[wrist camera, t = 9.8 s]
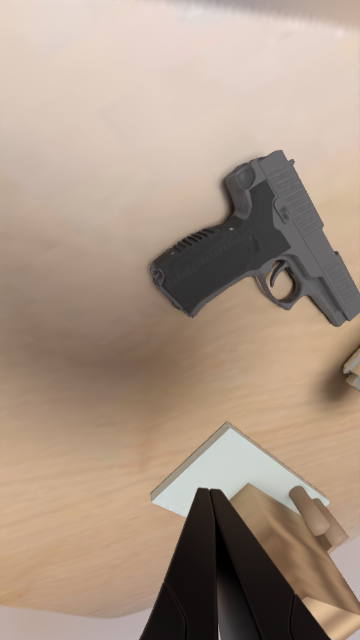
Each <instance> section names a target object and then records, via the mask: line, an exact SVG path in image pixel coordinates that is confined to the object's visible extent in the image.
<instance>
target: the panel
mask: <svg viewBox="0 0 360 640" xmlns="http://www.w3.org/2000/svg"><path fill="white" fill-rule="evenodd" d="M247 483H250V484H251V485H253V486H255V487H256V488H258V489H259V490H261V491H263V492H264V493H266V494H267V495H269V496H271V497H272V498H274V499H275V500H277V501H279V502H280V503H282V504H283V505H285V506H287V507H288V508H290V509H291V510H293V511H295V512H296V513H298V514H299V515H301V516H302V517H303V519H304V520H305V522H306V524H307V525H308V527H309V528H310V530H311V531H312V533H313V535H315V536H317V537H318V539H319V540H320V542H321V543H322V545H323V547H324V548H325V550H326V551H327V553H328V554H330V553H331V552H333V551H334V550H335V549H336V548H337V547H339V546H340V545H341V544H342V543H343V542H345V541H346V540H347V539H348V538H349V537H348V535H347V534H346V533H345V531H344V530H343V529H342V527H341V526H340V525H339V523H338V522H337V521H336V519H335V518H334V517H333V515H332V514H331V513H330V511H329V510H328V509H327V507H326V506H327V505H328V504H329V503H331V502H330V501H329V500H328V499H327V497H326V496H325V495H323V494H322V493H321V492H319V491H318V490H317V489H315V488H314V487H313V486H311V485H310V484H309V483H307V482H306V481H305V480H303V479H302V478H301V477H300V476H298V475H297V474H296V473H294V472H293V471H292V470H290V469H289V468H288V467H286V466H285V465H284V464H282V463H281V462H280V461H278V460H277V459H276V458H274V457H273V456H272V455H270V454H269V453H268V452H266V451H265V450H264V449H262V448H261V447H260V446H258V445H257V444H256V443H254V442H253V441H252V440H250V439H249V438H248V437H247V436H245V435H244V434H243V433H241V432H240V431H239V430H237V429H236V428H235V427H233V426H232V425H231V424H229V423H228V422H226V423H225V424H224V425H223V426H222V427H221V428H220V429H219V430H218V431H217V432H216V433H215V434H214V435H212V436H211V437H210V438H209V439H208V440H207V441H206V442H205V443H204V444H203V445H202V446H201V447H200V448H199V449H198V450H197V451H196V452H194V453H193V454H192V455H191V456H190V457H189V458H188V459H187V460H186V461H185V462H184V463H183V464H182V465H181V466H180V467H179V468H178V469H177V470H175V471H174V472H173V473H172V474H171V475H170V476H169V477H168V478H167V479H166V480H165V481H164V482H163V483H162V484H161V485H160V486H159V487H157V488H156V489H155V490H154V491H153V492H152V493H151V502H152V503H155V504H157V505H159V506H161V507H164V508H166V509H168V510H170V511H173V512H175V513H177V514H179V515H181V516H184V517H186V518H187V515H188V513H189V510H190V507H191V504H192V502H193V499H194V496H195V493H196V491H197V488H199V487H201V488H208V489H209V490H210V489H211V488H214V489H221V490H222V491H223V493H224V494H225V496H226V497H227V498H228V500H230V499H231V498H232V497H233V496H234V495H235V494H236V493H238V492H239V491H240V490H241V489H242V488H243V487H244V486H245V485H246V484H247Z"/></svg>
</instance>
